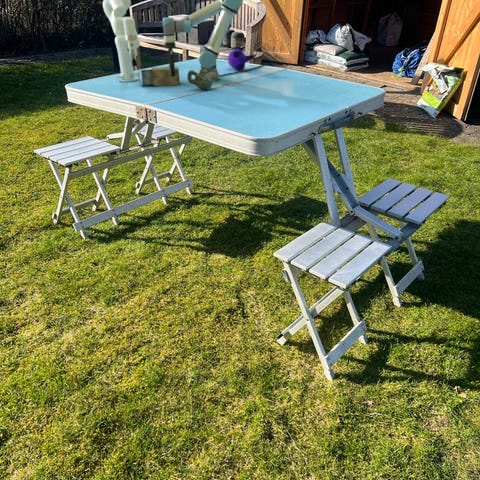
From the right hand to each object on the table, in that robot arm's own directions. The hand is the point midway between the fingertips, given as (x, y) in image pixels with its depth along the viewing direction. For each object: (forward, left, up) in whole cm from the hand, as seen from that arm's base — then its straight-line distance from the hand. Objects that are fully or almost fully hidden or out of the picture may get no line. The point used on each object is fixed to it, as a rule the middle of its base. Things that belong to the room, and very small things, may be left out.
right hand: (172, 74), depth 325 cm
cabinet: (+5, -1, -6) cm, 8 cm away
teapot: (-11, +30, -6) cm, 33 cm away
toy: (-67, -24, -6) cm, 72 cm away
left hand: (+25, -7, +7) cm, 27 cm away
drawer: (+18, -5, -5) cm, 19 cm away
